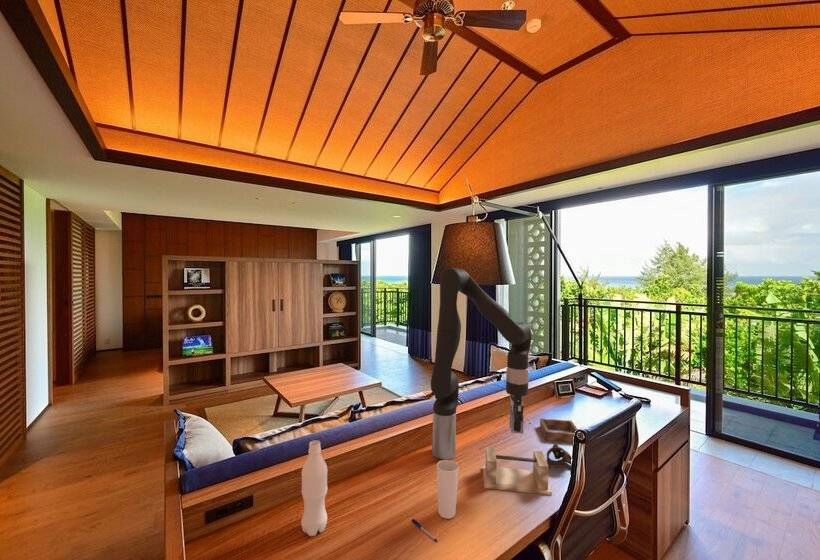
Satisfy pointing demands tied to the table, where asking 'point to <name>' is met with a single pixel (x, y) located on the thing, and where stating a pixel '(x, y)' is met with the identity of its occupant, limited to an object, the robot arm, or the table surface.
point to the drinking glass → (447, 487)
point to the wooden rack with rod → (517, 474)
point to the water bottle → (314, 490)
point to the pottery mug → (558, 457)
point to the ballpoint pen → (423, 529)
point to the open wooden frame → (557, 424)
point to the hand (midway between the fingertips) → (516, 427)
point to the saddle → (513, 423)
